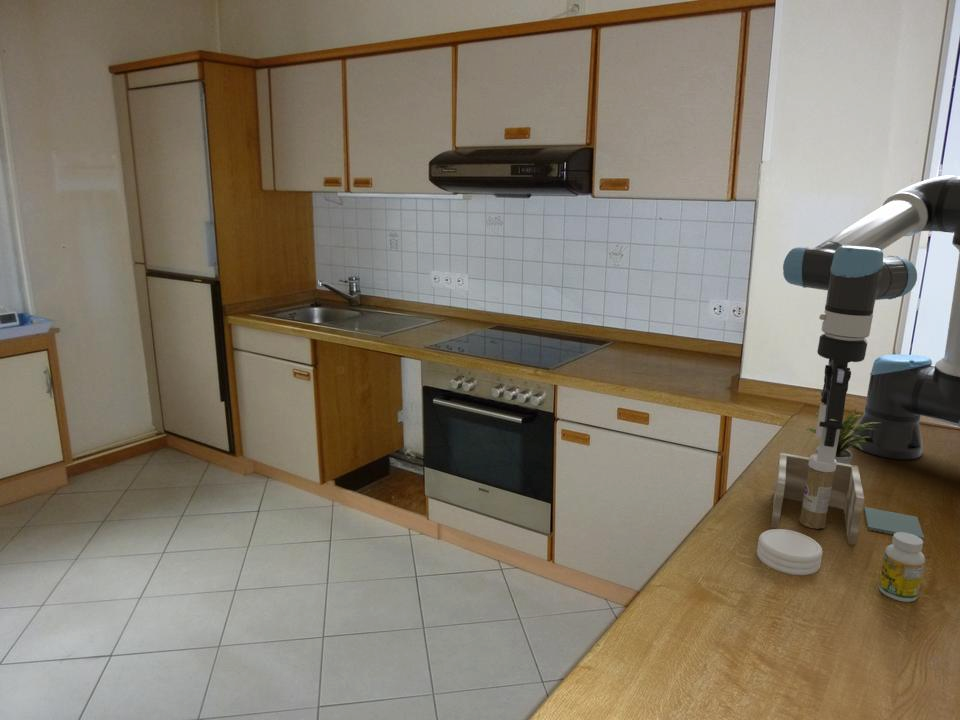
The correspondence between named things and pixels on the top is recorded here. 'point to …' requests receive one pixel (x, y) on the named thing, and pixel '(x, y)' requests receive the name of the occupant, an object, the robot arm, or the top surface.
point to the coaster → (789, 552)
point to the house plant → (847, 428)
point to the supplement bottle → (902, 567)
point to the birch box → (842, 492)
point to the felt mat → (892, 522)
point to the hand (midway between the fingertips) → (823, 449)
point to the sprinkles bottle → (817, 493)
